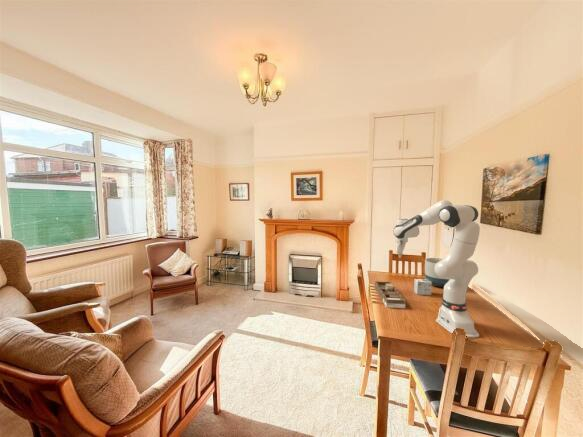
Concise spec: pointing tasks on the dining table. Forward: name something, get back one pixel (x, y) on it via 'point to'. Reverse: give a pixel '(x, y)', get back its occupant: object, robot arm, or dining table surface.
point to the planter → (433, 272)
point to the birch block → (389, 287)
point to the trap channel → (389, 295)
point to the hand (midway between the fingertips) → (400, 256)
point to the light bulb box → (422, 286)
